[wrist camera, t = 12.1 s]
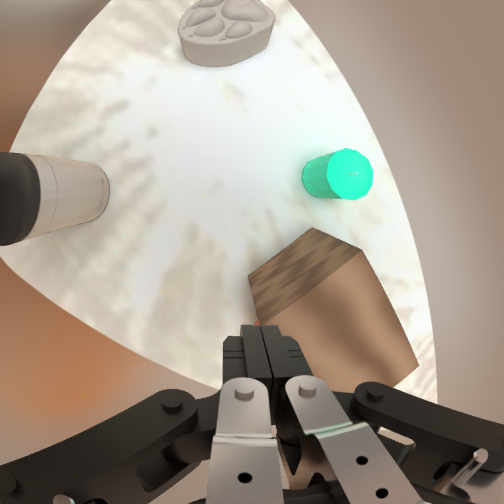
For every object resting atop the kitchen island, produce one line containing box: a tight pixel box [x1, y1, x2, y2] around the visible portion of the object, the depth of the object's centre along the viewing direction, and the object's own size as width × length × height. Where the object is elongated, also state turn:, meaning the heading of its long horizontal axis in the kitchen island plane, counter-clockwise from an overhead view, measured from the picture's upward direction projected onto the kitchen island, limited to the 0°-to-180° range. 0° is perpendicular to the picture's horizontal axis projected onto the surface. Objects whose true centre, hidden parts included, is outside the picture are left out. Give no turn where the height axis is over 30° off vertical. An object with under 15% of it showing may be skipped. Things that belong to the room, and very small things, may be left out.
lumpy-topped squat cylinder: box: [178, 0, 275, 67], centre depth 28 cm, size 10×13×9 cm
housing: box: [248, 227, 419, 393], centre depth 34 cm, size 12×20×16 cm, turn 37°
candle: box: [302, 148, 373, 200], centre depth 32 cm, size 6×6×12 cm
